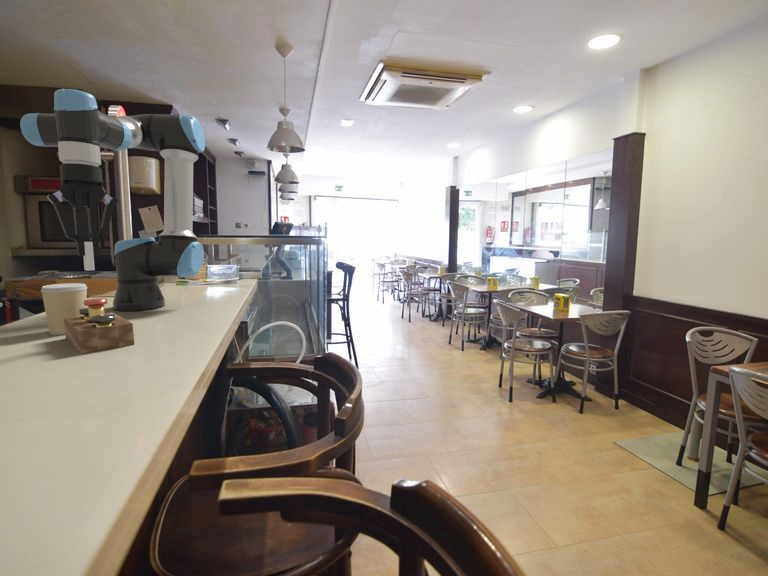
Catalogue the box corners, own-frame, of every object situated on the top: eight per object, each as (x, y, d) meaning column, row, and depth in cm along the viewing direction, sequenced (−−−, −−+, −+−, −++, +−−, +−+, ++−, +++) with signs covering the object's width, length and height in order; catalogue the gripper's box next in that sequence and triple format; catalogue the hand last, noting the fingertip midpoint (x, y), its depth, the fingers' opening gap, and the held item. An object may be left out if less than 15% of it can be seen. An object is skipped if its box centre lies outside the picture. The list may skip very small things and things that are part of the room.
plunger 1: (101, 331, 102) (99, 306, 101) (105, 334, 99) (103, 308, 98) (80, 334, 99) (77, 308, 98) (84, 337, 96) (81, 311, 95)
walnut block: (114, 331, 104) (112, 312, 104) (134, 344, 93) (132, 323, 92) (65, 338, 97) (63, 318, 97) (81, 353, 86) (79, 330, 85)
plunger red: (106, 323, 98) (104, 297, 97) (111, 327, 95) (109, 299, 94) (84, 326, 95) (81, 299, 94) (88, 330, 92) (86, 302, 91)
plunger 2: (114, 340, 94) (112, 313, 93) (119, 344, 91) (117, 316, 90) (91, 344, 91) (89, 316, 90) (96, 348, 88) (93, 319, 87)
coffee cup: (99, 327, 109) (95, 283, 107) (69, 336, 99) (64, 288, 98) (68, 326, 109) (63, 282, 108) (35, 334, 100) (30, 287, 99)
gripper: (111, 170, 97) (118, 267, 100) (40, 162, 88) (50, 270, 91) (119, 166, 92) (126, 269, 95) (45, 158, 83) (56, 272, 86)
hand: (89, 269), depth 93 cm, fingers closed
